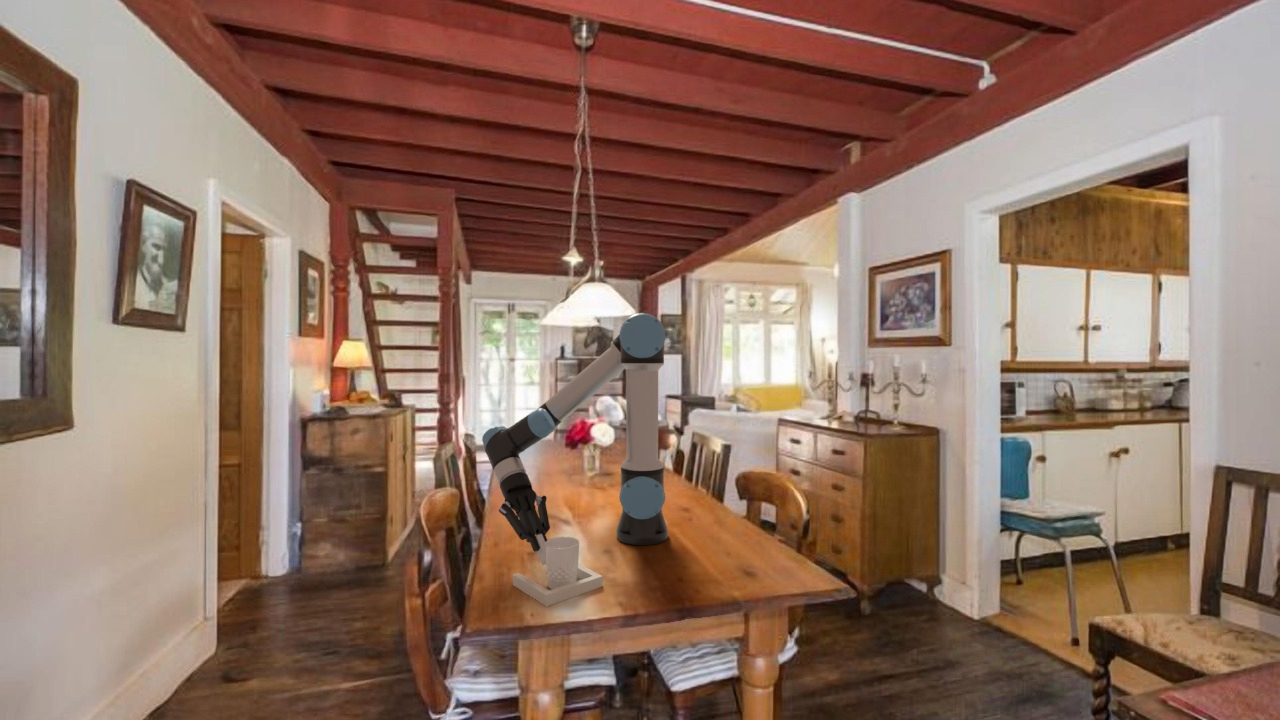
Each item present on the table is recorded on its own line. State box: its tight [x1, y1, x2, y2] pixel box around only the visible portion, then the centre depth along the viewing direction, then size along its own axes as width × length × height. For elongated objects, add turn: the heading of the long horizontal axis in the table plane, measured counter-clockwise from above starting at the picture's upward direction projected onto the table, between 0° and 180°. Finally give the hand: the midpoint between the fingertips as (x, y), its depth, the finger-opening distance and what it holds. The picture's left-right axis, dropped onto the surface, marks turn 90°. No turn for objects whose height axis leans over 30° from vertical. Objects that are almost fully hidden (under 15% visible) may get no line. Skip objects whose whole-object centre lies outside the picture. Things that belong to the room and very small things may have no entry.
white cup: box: [545, 536, 580, 590], centre depth 127 cm, size 8×8×10 cm
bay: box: [512, 563, 604, 607], centre depth 127 cm, size 15×15×2 cm
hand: (547, 561), depth 130 cm, fingers closed
